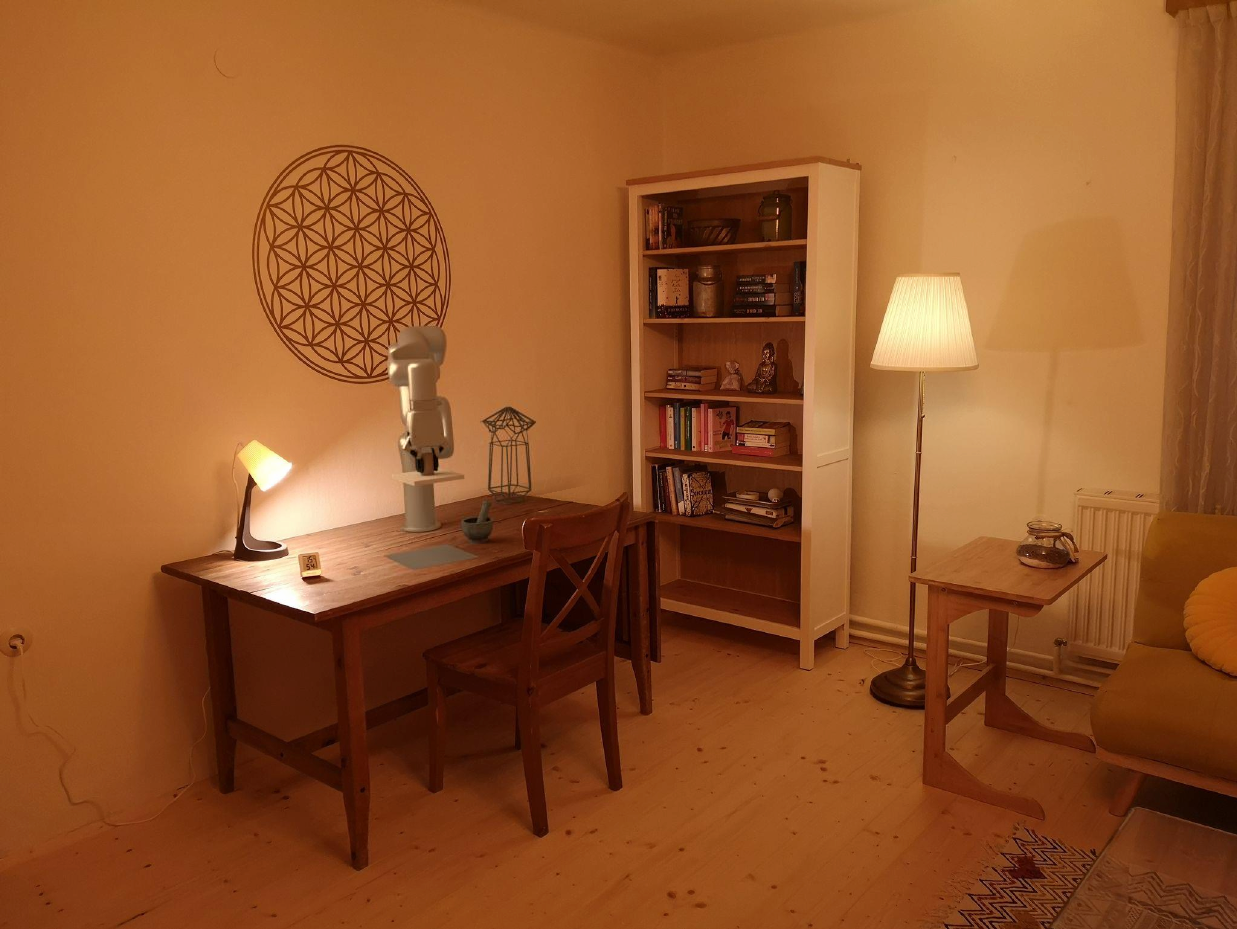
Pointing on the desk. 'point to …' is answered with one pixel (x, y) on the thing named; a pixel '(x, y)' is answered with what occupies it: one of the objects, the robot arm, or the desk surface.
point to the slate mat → (430, 556)
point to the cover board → (427, 479)
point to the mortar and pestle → (478, 525)
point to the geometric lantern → (532, 422)
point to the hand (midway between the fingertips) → (427, 470)
